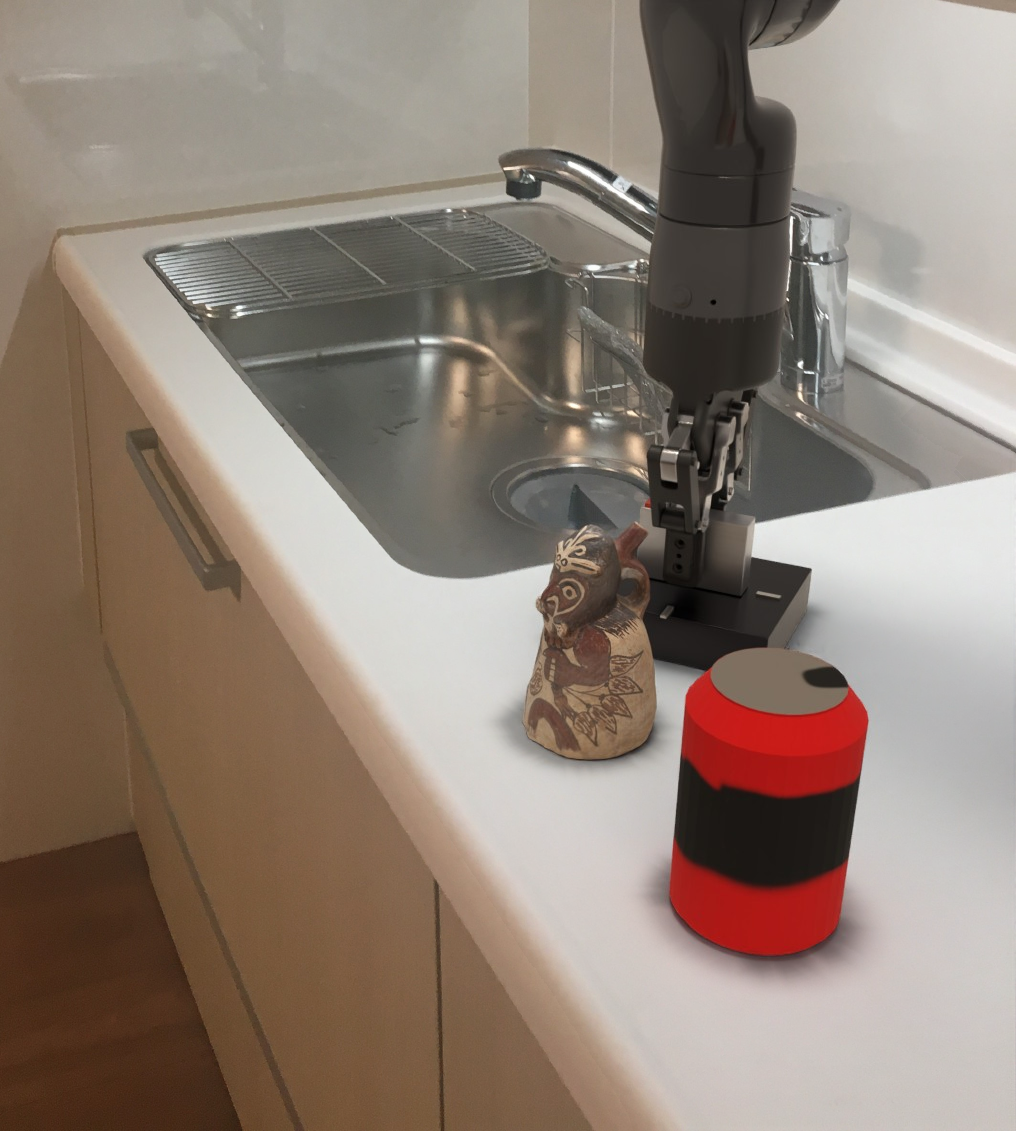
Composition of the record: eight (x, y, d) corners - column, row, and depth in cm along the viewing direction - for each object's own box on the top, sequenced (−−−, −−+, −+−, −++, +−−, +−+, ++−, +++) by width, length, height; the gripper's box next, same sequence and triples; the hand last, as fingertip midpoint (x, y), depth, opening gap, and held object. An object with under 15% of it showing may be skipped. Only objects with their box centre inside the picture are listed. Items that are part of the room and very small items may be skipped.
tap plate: (808, 608, 97) (814, 563, 95) (761, 686, 88) (766, 638, 87) (624, 571, 102) (626, 527, 101) (563, 641, 94) (566, 594, 93)
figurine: (511, 696, 88) (516, 505, 83) (632, 687, 89) (645, 496, 84) (540, 765, 82) (548, 562, 77) (671, 754, 82) (687, 552, 77)
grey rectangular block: (748, 585, 93) (756, 512, 91) (741, 596, 92) (748, 522, 90) (644, 565, 96) (649, 493, 94) (635, 575, 95) (640, 503, 93)
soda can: (865, 954, 68) (902, 721, 63) (695, 966, 68) (717, 732, 62) (805, 850, 75) (833, 632, 69) (649, 861, 74) (666, 642, 69)
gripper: (747, 337, 79) (719, 633, 87) (816, 268, 90) (785, 536, 97) (607, 319, 82) (591, 605, 90) (689, 255, 93) (669, 515, 101)
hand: (692, 568), depth 94 cm, fingers open, 3 cm apart
